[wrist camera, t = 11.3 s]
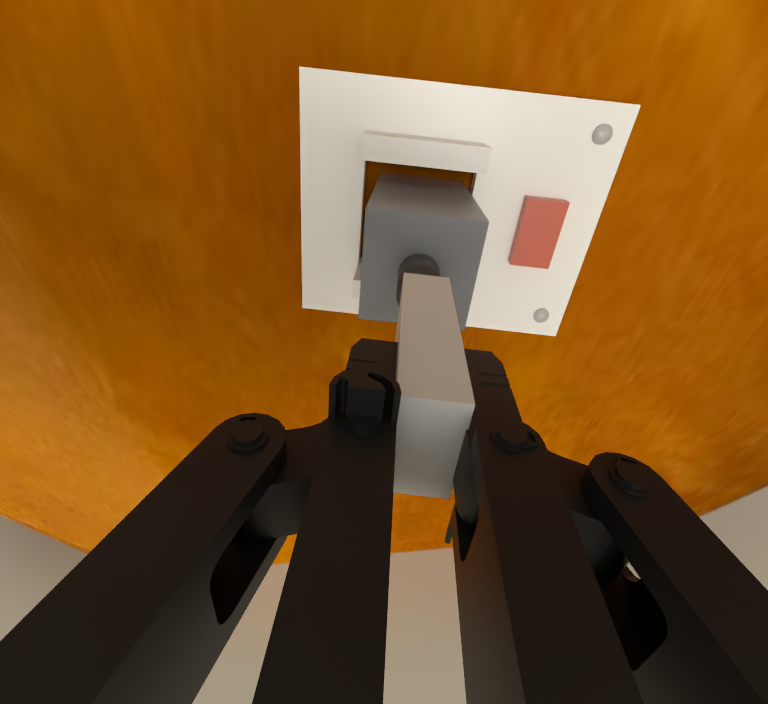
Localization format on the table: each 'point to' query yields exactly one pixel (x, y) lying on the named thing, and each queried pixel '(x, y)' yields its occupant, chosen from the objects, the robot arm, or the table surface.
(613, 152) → the socket
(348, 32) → the table surface
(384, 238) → the plug
